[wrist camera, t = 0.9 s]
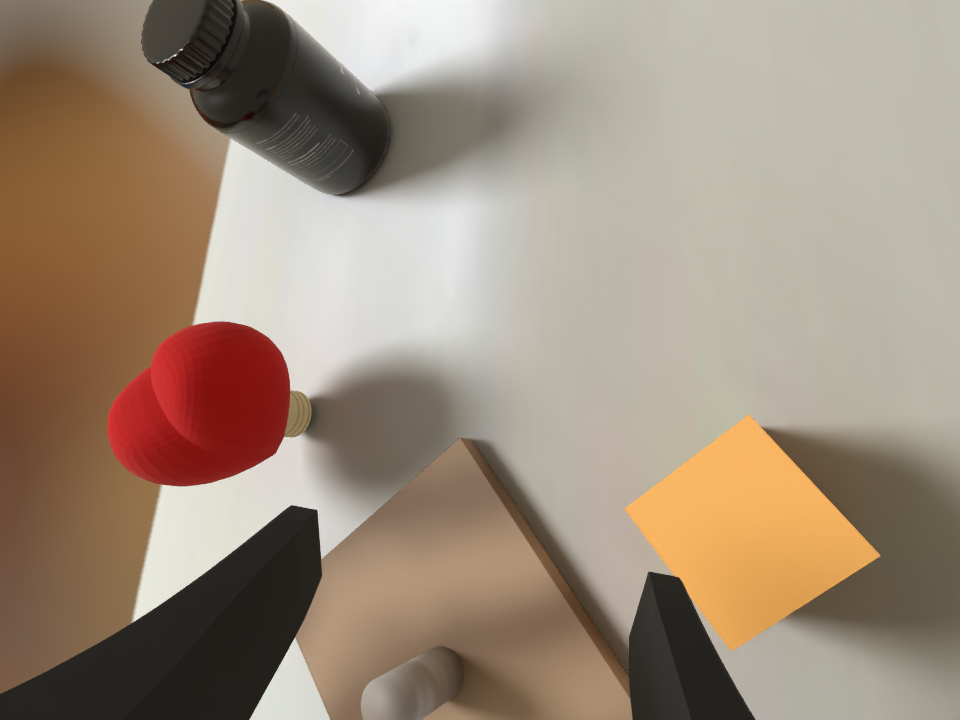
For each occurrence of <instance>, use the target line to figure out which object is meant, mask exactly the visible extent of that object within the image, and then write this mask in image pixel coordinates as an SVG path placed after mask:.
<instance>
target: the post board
mask: <svg viewBox="0 0 960 720" xmlns="http://www.w3.org/2000/svg"><path fill="white" fill-rule="evenodd" d="M321 565H322V578H321V580H320V583H319V586H318V588H317V591H316V593H315V596H314V598H313V601H312V603H311V605H310V608H309V610H308V612H307V615H306V617H305V619H304V621H303V623H302V625H301V627H300V629H299V631H298V633H297V634H296V636H295V638H296V640H297V642H298V645H299V647H300V649H301V652H302V654H303V656H304V659H305V661H306V663H307V666H308V668H309V671H310V673H311V675H312V678H313V680H314V682H315V685H316V687H317V689H318V692H319V694H320V696H321V699H322V701H323V703H324V706H325V708H326V710H327V713H328V715H329V717H330V720H633V719H632V710H631V700H630V690H629V676H628V675H627V673H626V672H625V670H624V669H623V667H622V666H621V664H620V663H619V661H618V660H617V658H616V657H615V655H614V654H613V652H612V651H611V649H610V648H609V646H608V645H607V643H606V642H605V640H604V639H603V637H602V636H601V634H600V633H599V631H598V630H597V628H596V626H595V625H594V623H593V622H592V620H591V619H590V617H589V616H588V614H587V613H586V611H585V610H584V608H583V607H582V605H581V604H580V602H579V601H578V599H577V598H576V596H575V595H574V593H573V592H572V590H571V589H570V587H569V586H568V584H567V583H566V581H565V580H564V578H563V577H562V575H561V574H560V572H559V571H558V569H557V568H556V566H555V565H554V563H553V562H552V560H551V559H550V557H549V555H548V554H547V552H546V551H545V549H544V548H543V546H542V545H541V543H540V542H539V540H538V539H537V537H536V536H535V534H534V533H533V531H532V530H531V528H530V527H529V525H528V524H527V522H526V521H525V519H524V518H523V516H522V515H521V513H520V512H519V510H518V509H517V507H516V506H515V504H514V503H513V501H512V500H511V498H510V497H509V495H508V494H507V492H506V491H505V489H504V488H503V486H502V485H501V483H500V481H499V480H498V478H497V477H496V475H495V474H494V472H493V471H492V469H491V468H490V466H489V465H488V463H487V462H486V460H485V459H484V457H483V456H482V454H481V453H480V451H479V450H478V448H477V447H476V445H475V444H474V442H473V441H472V439H464V438H460V439H458V440H457V441H456V442H455V443H454V444H453V445H452V446H450V447H449V448H448V449H447V450H446V451H445V452H444V453H442V454H441V455H440V456H439V457H438V458H437V459H436V460H434V461H433V462H432V463H431V464H430V465H429V466H428V467H426V468H425V469H424V470H423V471H422V472H421V473H420V474H418V475H417V476H416V477H415V478H414V479H413V480H412V481H410V482H409V483H408V484H407V485H406V486H405V487H404V488H402V489H401V490H400V491H399V492H398V493H397V494H396V495H394V496H393V497H392V498H391V499H390V500H389V501H388V502H386V503H385V504H384V505H383V506H382V507H381V508H380V509H378V510H377V511H376V512H375V513H374V514H373V515H372V516H370V517H369V518H368V519H367V520H366V521H365V522H364V523H362V524H361V525H360V526H359V527H358V528H357V529H356V530H355V531H353V532H352V533H351V534H350V535H349V536H348V537H347V538H345V539H344V540H343V541H342V542H341V543H340V544H339V545H337V546H336V547H335V548H334V549H333V550H332V551H331V552H329V553H328V554H327V555H326V556H325V557H324V558H323V559H321Z"/></svg>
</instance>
